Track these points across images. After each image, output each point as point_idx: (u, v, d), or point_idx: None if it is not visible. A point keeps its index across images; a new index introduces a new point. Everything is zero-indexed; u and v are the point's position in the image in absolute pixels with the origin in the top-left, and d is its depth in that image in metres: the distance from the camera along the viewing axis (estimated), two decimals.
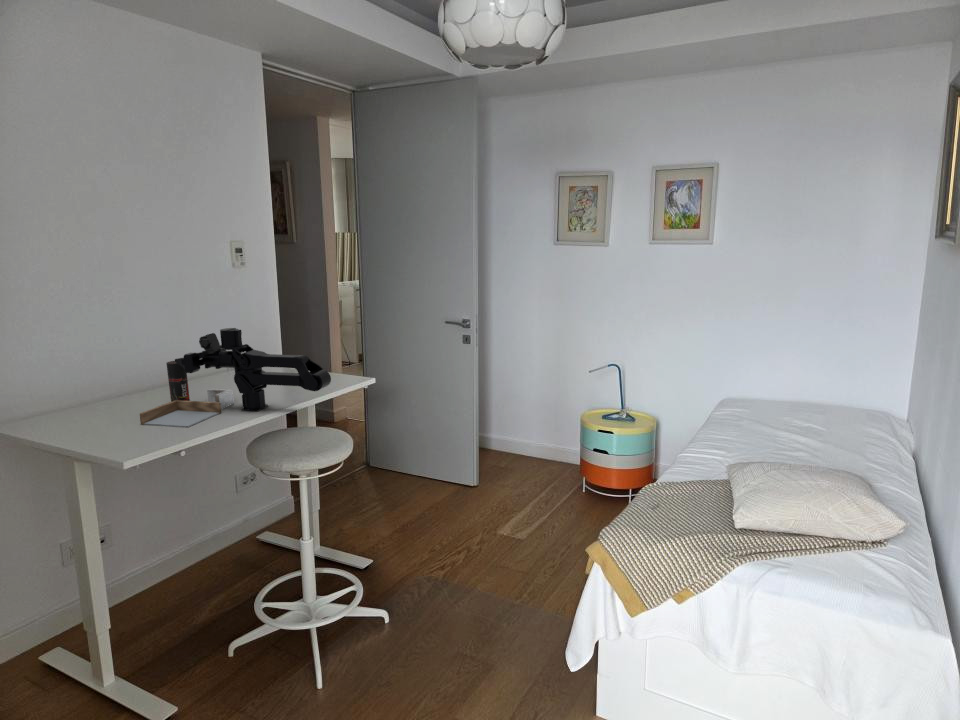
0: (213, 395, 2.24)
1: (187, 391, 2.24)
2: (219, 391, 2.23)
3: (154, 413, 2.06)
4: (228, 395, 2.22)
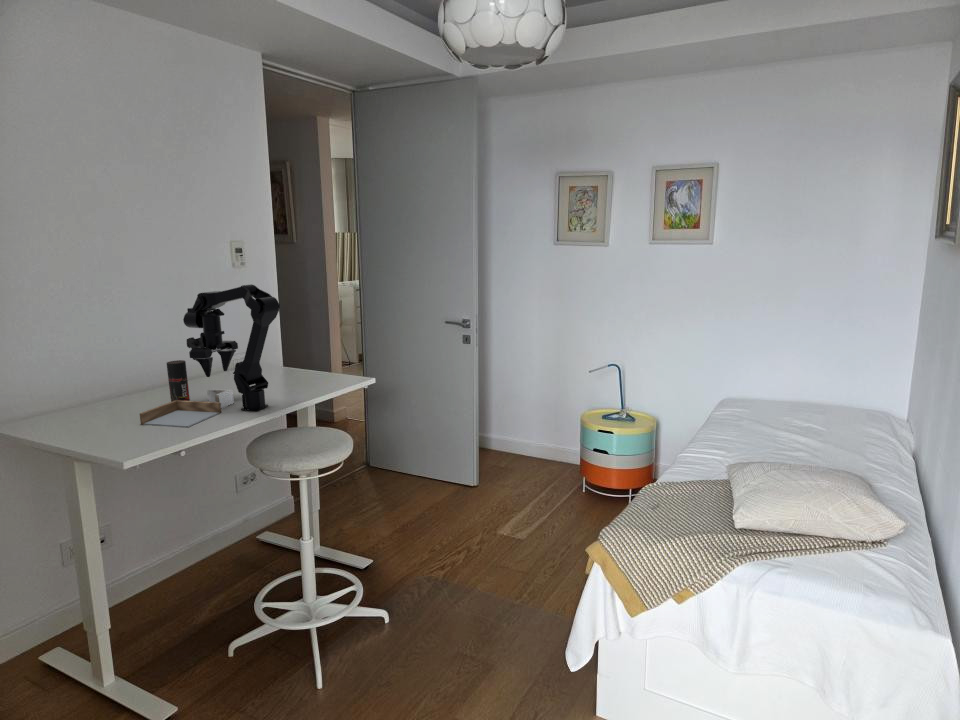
0: (213, 395, 2.24)
1: (187, 391, 2.24)
2: (219, 391, 2.23)
3: (154, 413, 2.06)
4: (228, 395, 2.22)
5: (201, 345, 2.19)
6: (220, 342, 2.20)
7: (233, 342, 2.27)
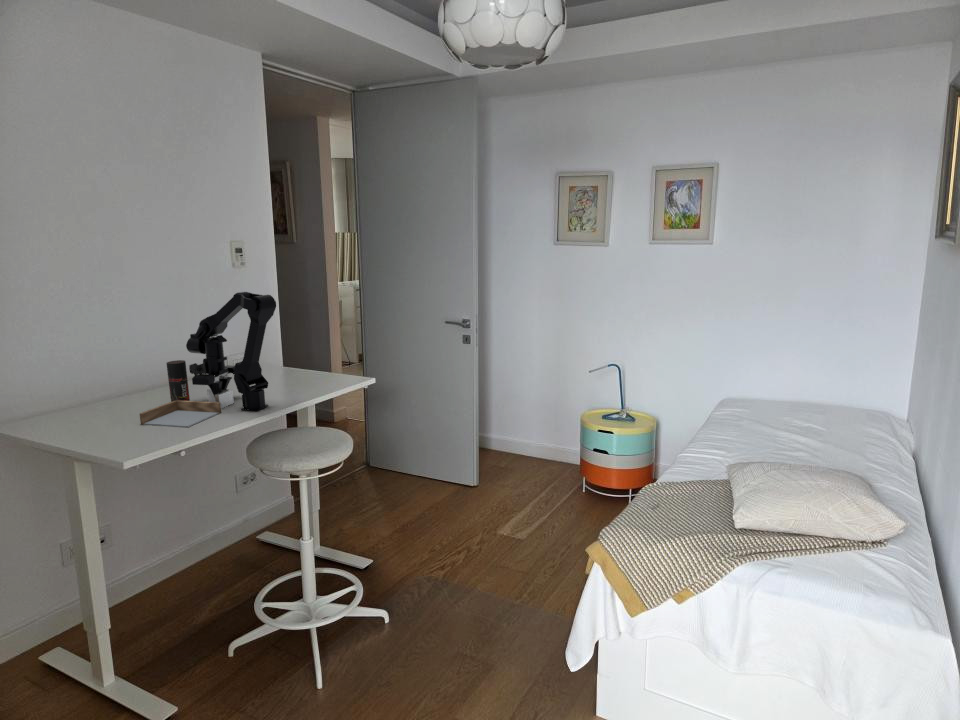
0: (213, 395, 2.24)
1: (187, 391, 2.24)
2: None
3: (154, 413, 2.06)
4: (228, 395, 2.22)
5: (204, 371, 2.21)
6: (223, 368, 2.22)
7: None
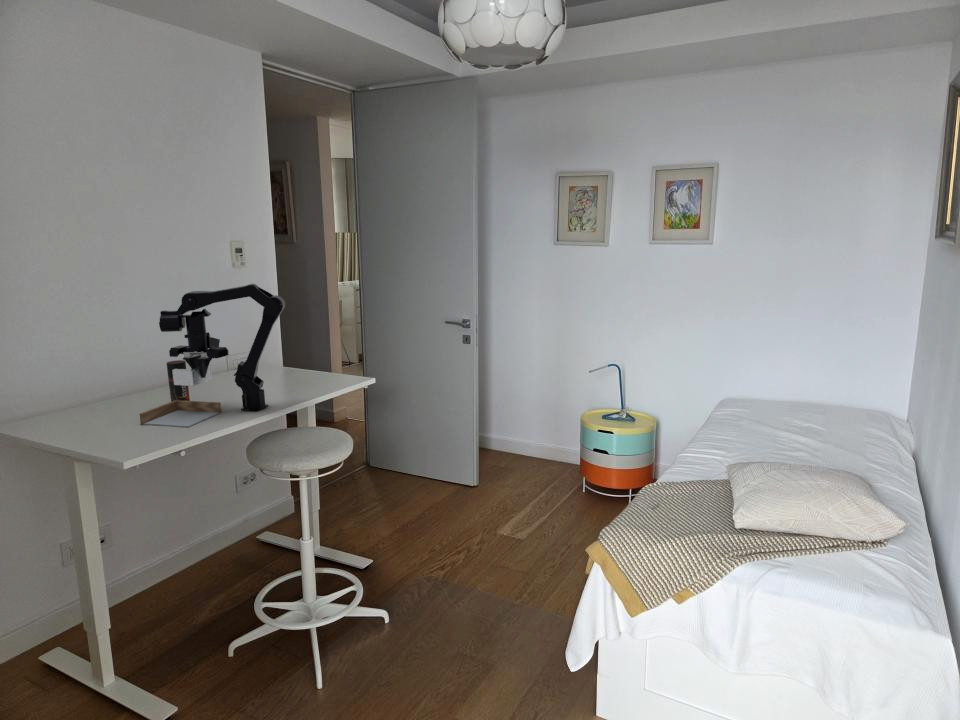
0: None
1: (187, 391, 2.24)
2: None
3: (154, 413, 2.06)
4: (185, 374, 2.08)
5: None
6: (191, 345, 2.08)
7: (212, 350, 2.07)
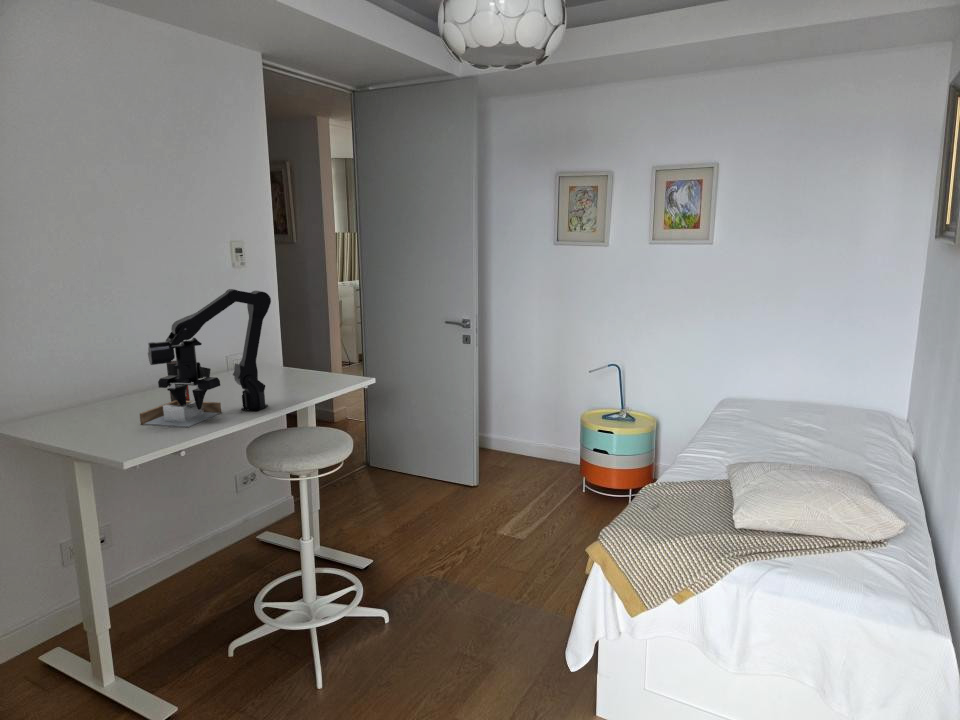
0: None
1: (187, 391, 2.24)
2: None
3: (154, 413, 2.06)
4: (177, 411, 2.02)
5: None
6: (181, 376, 2.01)
7: (203, 381, 2.00)
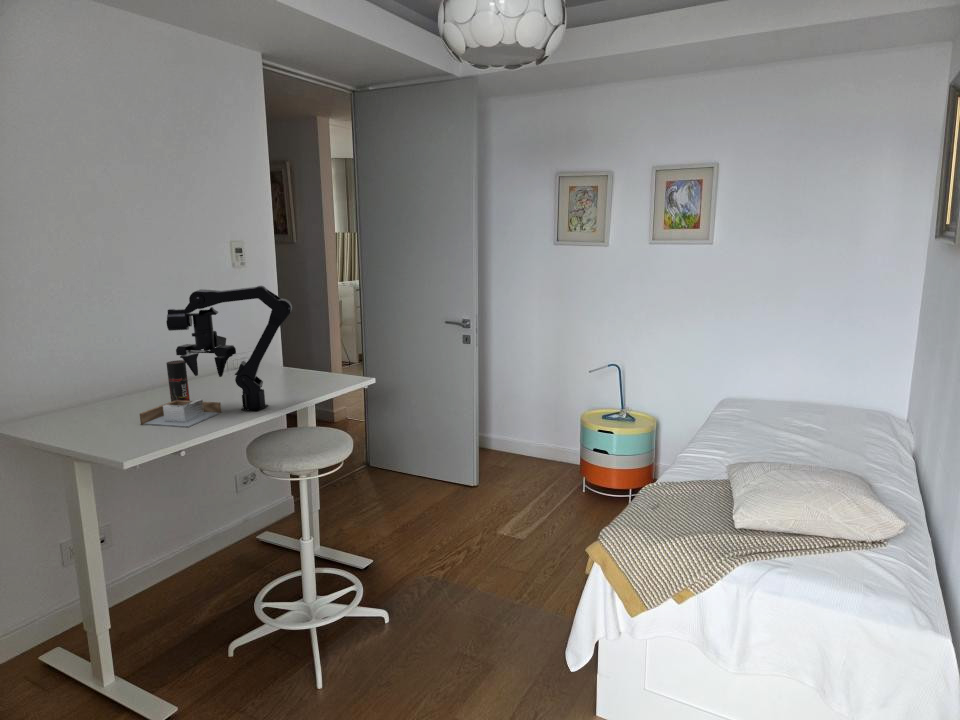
0: None
1: (187, 391, 2.24)
2: None
3: (154, 413, 2.06)
4: (177, 411, 2.02)
5: None
6: (198, 344, 2.08)
7: (220, 348, 2.07)
